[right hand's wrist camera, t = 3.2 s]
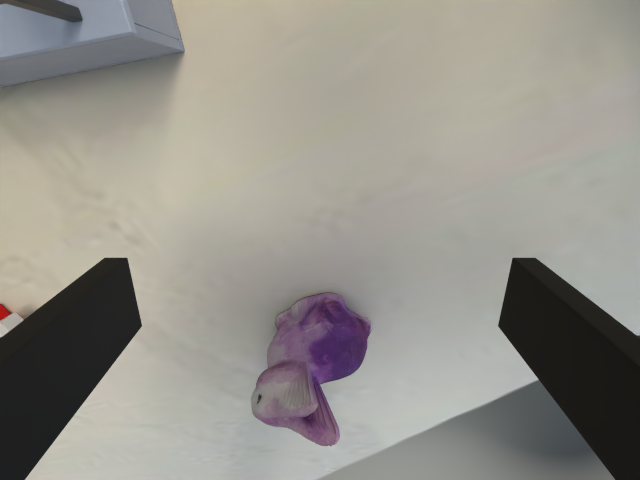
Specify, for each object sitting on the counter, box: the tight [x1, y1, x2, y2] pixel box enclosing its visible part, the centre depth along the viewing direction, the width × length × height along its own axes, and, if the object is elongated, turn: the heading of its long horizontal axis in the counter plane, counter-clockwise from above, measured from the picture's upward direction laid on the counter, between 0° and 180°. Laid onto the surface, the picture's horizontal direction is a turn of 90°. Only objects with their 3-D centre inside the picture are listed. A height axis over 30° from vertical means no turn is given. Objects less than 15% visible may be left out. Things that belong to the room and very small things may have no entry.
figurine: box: [251, 293, 373, 446], centre depth 35 cm, size 9×10×15 cm
